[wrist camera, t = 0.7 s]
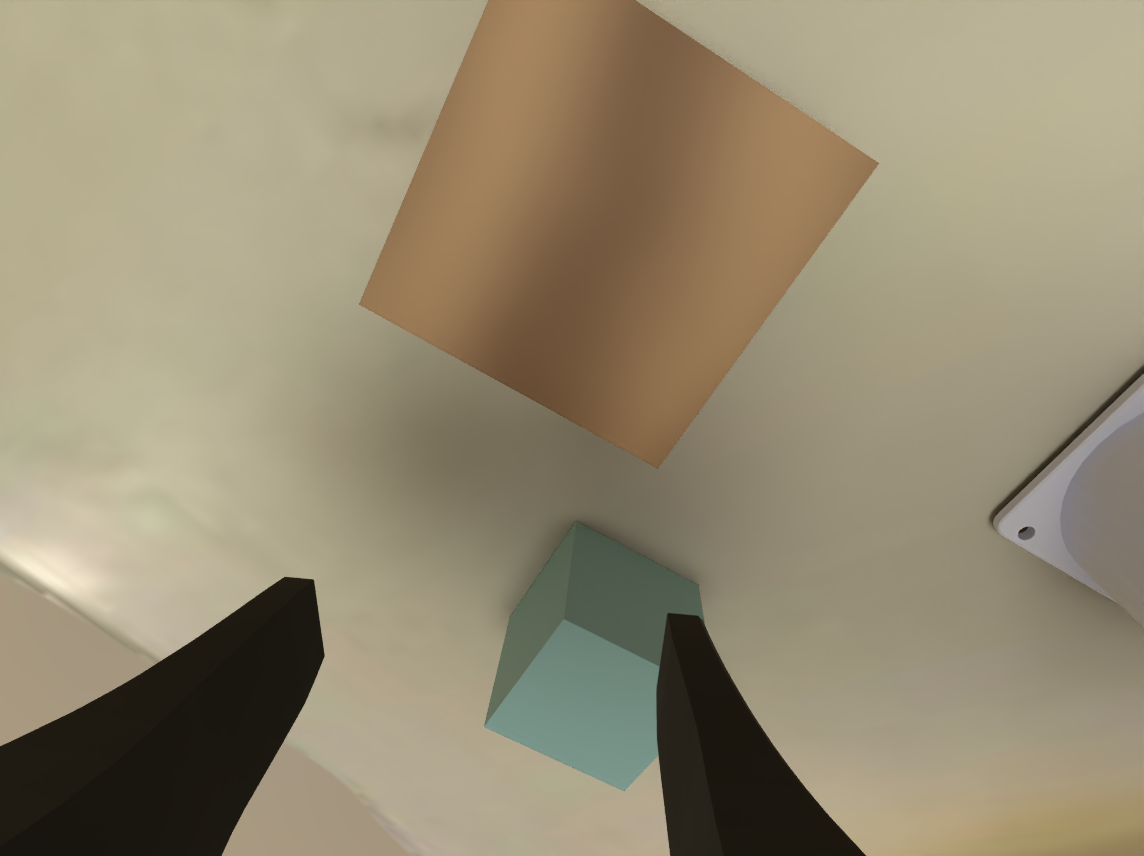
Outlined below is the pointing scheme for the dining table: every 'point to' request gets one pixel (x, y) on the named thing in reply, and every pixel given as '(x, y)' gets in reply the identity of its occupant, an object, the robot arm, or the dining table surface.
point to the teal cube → (589, 657)
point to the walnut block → (607, 215)
